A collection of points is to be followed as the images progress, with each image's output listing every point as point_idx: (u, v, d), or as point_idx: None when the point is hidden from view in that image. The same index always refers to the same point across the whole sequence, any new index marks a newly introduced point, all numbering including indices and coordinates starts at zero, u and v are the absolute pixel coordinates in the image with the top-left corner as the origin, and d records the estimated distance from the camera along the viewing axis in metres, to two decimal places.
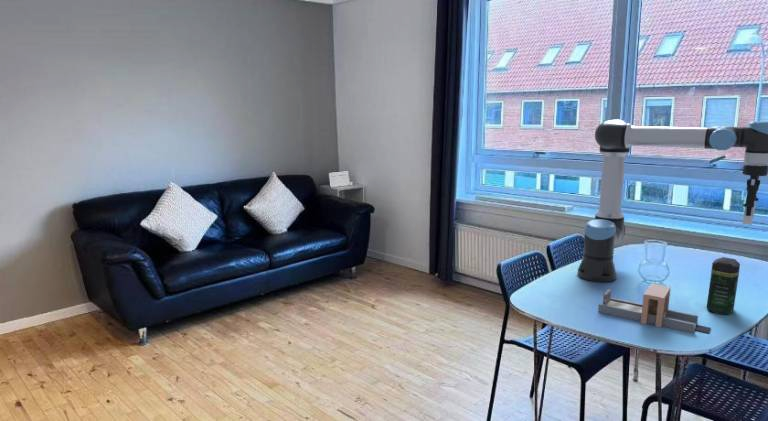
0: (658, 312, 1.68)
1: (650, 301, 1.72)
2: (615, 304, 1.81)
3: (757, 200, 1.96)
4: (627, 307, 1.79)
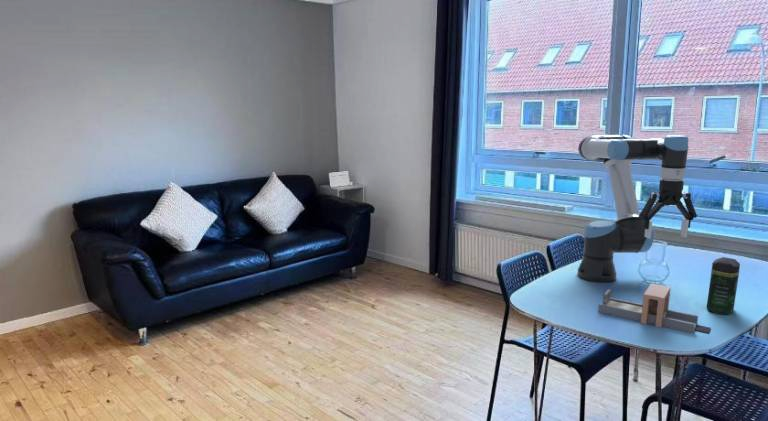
0: (658, 312, 1.68)
1: (650, 301, 1.72)
2: (615, 304, 1.81)
3: (690, 219, 1.85)
4: (627, 307, 1.79)
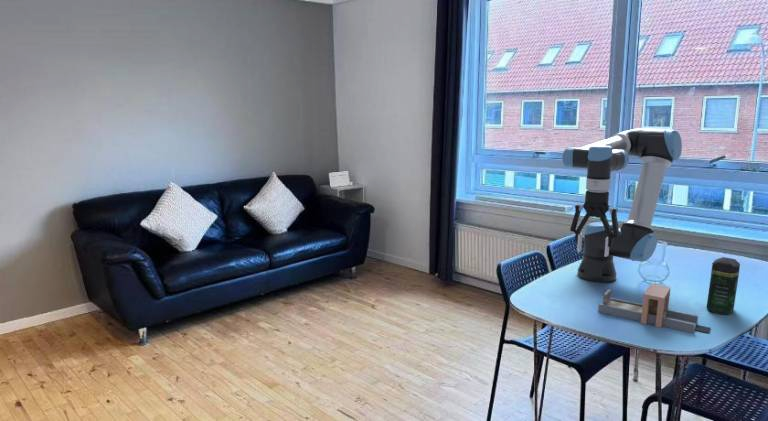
0: (658, 312, 1.68)
1: (650, 301, 1.72)
2: (615, 304, 1.81)
3: (608, 237, 1.77)
4: (627, 307, 1.79)
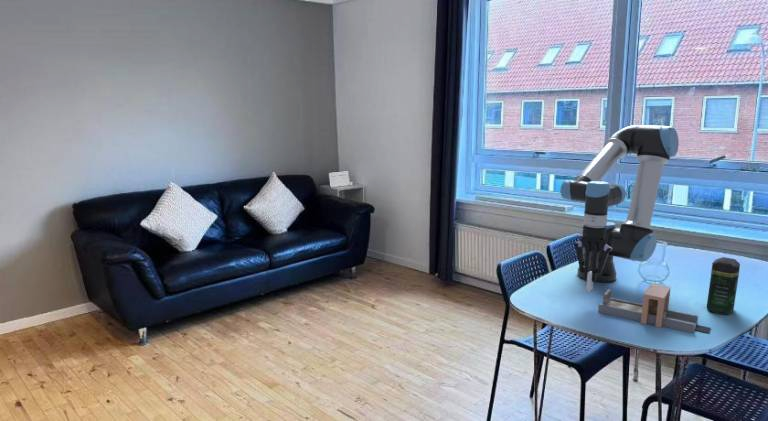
0: (658, 312, 1.68)
1: (650, 301, 1.72)
2: (615, 304, 1.81)
3: (591, 272, 1.82)
4: (627, 307, 1.79)
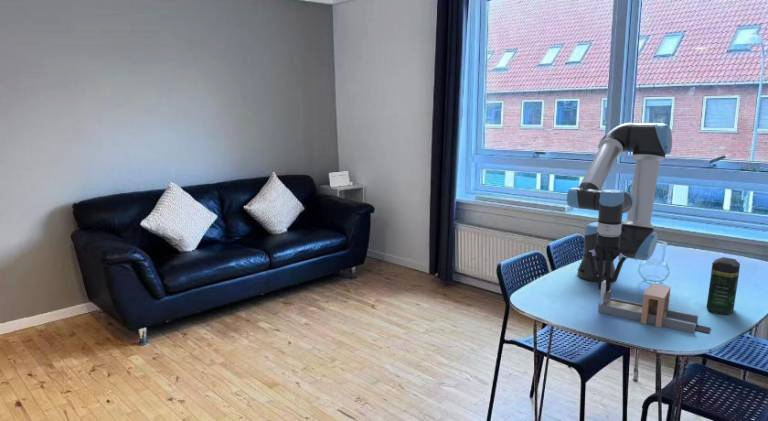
0: (658, 312, 1.68)
1: (650, 301, 1.72)
2: (615, 304, 1.81)
3: (605, 281, 1.80)
4: (627, 307, 1.79)
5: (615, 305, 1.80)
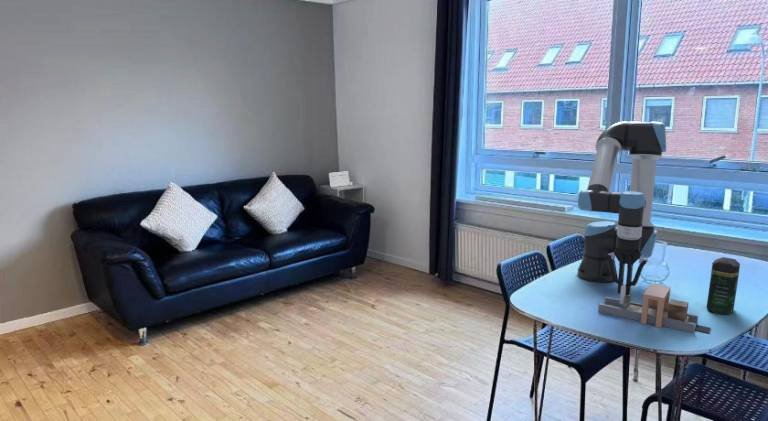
0: (658, 312, 1.68)
1: (672, 305, 1.68)
2: (635, 308, 1.78)
3: (625, 285, 1.76)
4: (648, 311, 1.75)
5: (635, 309, 1.77)
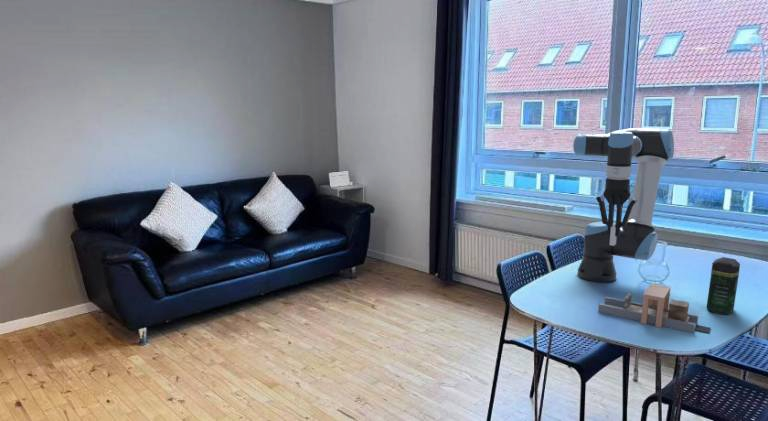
0: (658, 312, 1.68)
1: (673, 306, 1.68)
2: (636, 308, 1.77)
3: (615, 226, 1.77)
4: (648, 311, 1.75)
5: (636, 309, 1.77)
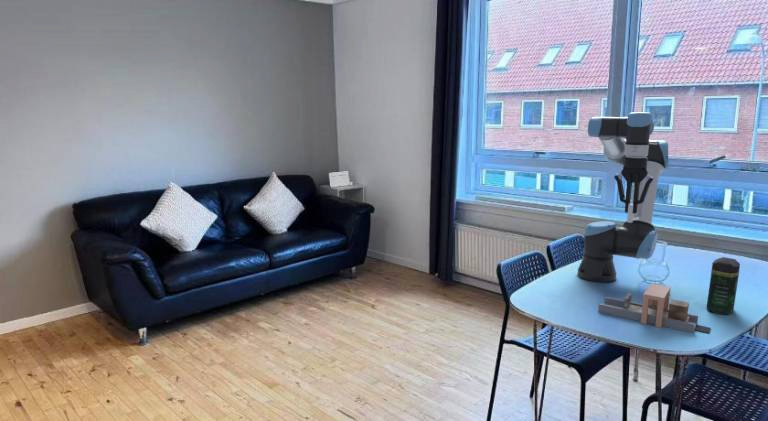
0: (658, 312, 1.68)
1: (673, 306, 1.68)
2: (636, 308, 1.77)
3: (633, 203, 1.84)
4: (648, 311, 1.75)
5: (636, 309, 1.77)
